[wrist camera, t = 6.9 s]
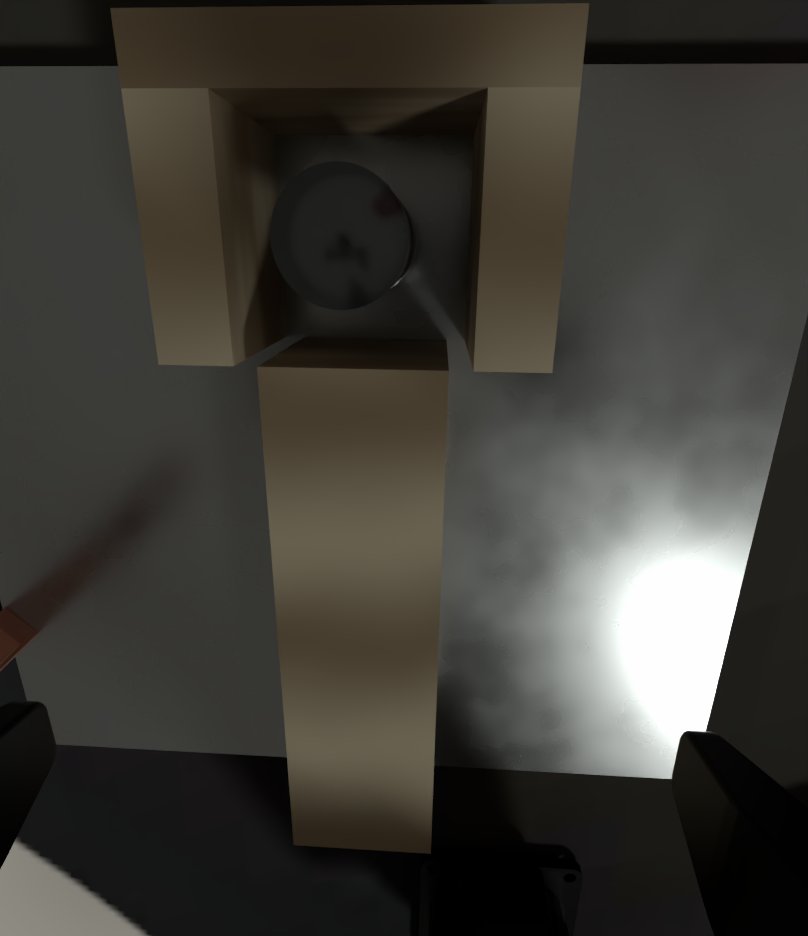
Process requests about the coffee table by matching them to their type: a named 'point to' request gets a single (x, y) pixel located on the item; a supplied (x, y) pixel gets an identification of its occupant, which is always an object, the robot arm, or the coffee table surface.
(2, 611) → the keeper
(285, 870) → the coffee table surface
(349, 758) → the link
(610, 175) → the plate
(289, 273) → the pintle
